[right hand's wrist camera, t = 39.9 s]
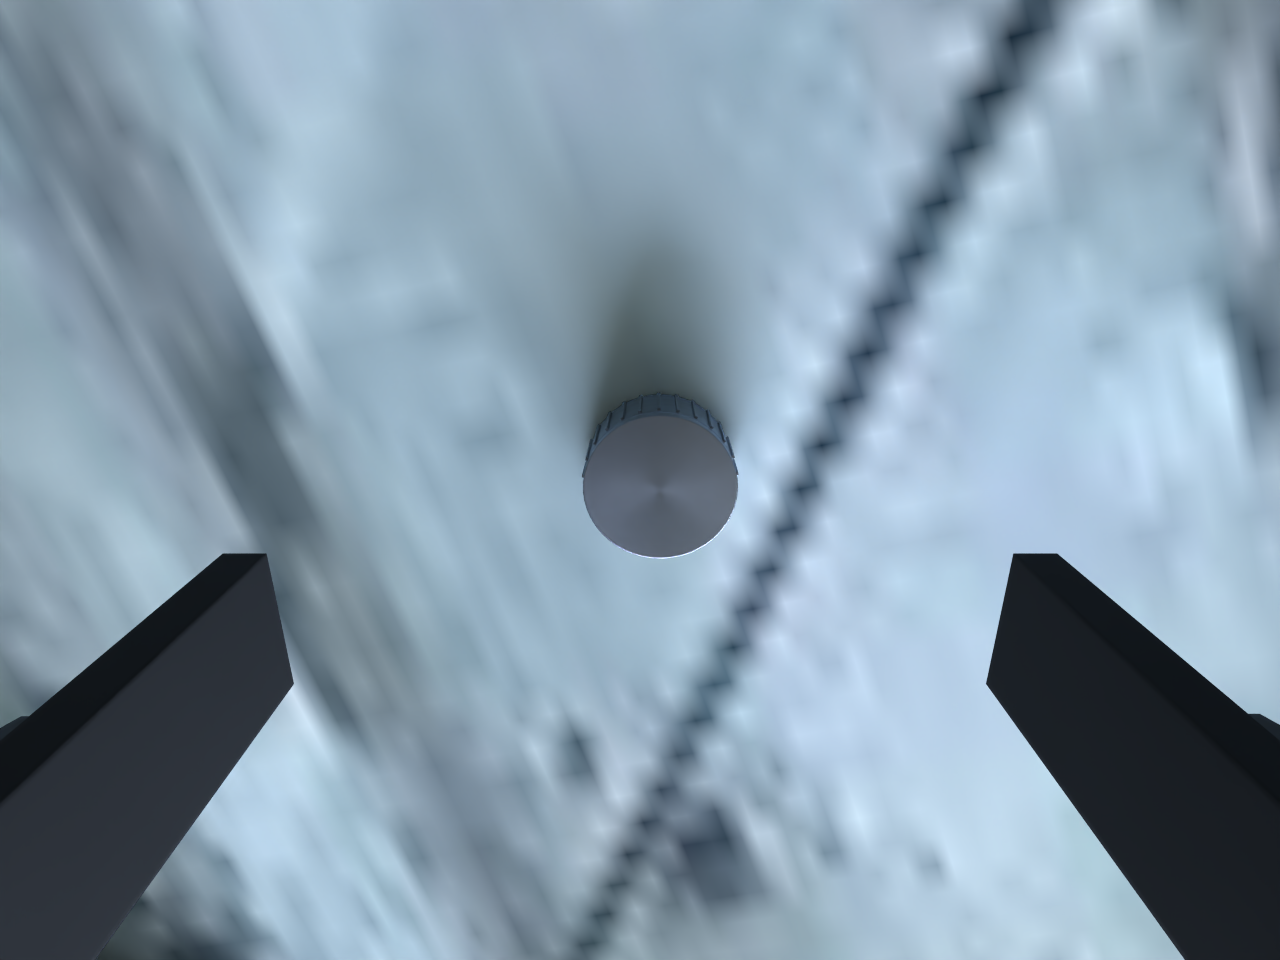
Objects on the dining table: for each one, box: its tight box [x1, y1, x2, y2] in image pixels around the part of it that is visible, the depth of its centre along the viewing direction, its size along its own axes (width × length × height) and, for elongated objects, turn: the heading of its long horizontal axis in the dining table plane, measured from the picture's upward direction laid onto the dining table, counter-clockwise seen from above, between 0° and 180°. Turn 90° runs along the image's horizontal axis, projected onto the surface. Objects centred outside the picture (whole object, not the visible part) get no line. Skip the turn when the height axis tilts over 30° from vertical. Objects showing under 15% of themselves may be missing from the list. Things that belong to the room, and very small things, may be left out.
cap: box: [582, 393, 738, 558], centre depth 19 cm, size 4×4×2 cm
